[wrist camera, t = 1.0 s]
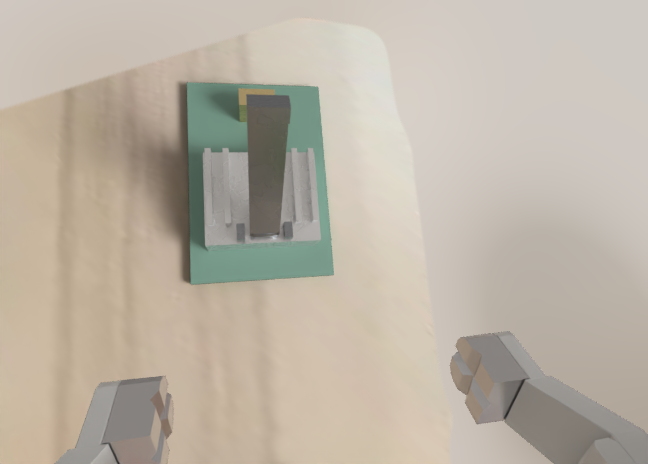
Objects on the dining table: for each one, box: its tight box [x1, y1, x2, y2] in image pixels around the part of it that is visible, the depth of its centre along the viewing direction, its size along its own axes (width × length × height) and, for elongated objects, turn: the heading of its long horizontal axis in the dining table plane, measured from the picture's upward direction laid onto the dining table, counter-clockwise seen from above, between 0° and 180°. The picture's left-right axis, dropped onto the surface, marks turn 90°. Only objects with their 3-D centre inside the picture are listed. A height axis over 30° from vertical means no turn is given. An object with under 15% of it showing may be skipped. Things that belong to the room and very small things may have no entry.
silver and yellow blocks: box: [203, 88, 321, 251], centre depth 43 cm, size 18×12×6 cm
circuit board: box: [187, 83, 334, 285], centre depth 47 cm, size 24×16×1 cm, turn 4°
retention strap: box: [246, 94, 291, 237], centre depth 34 cm, size 16×3×2 cm
